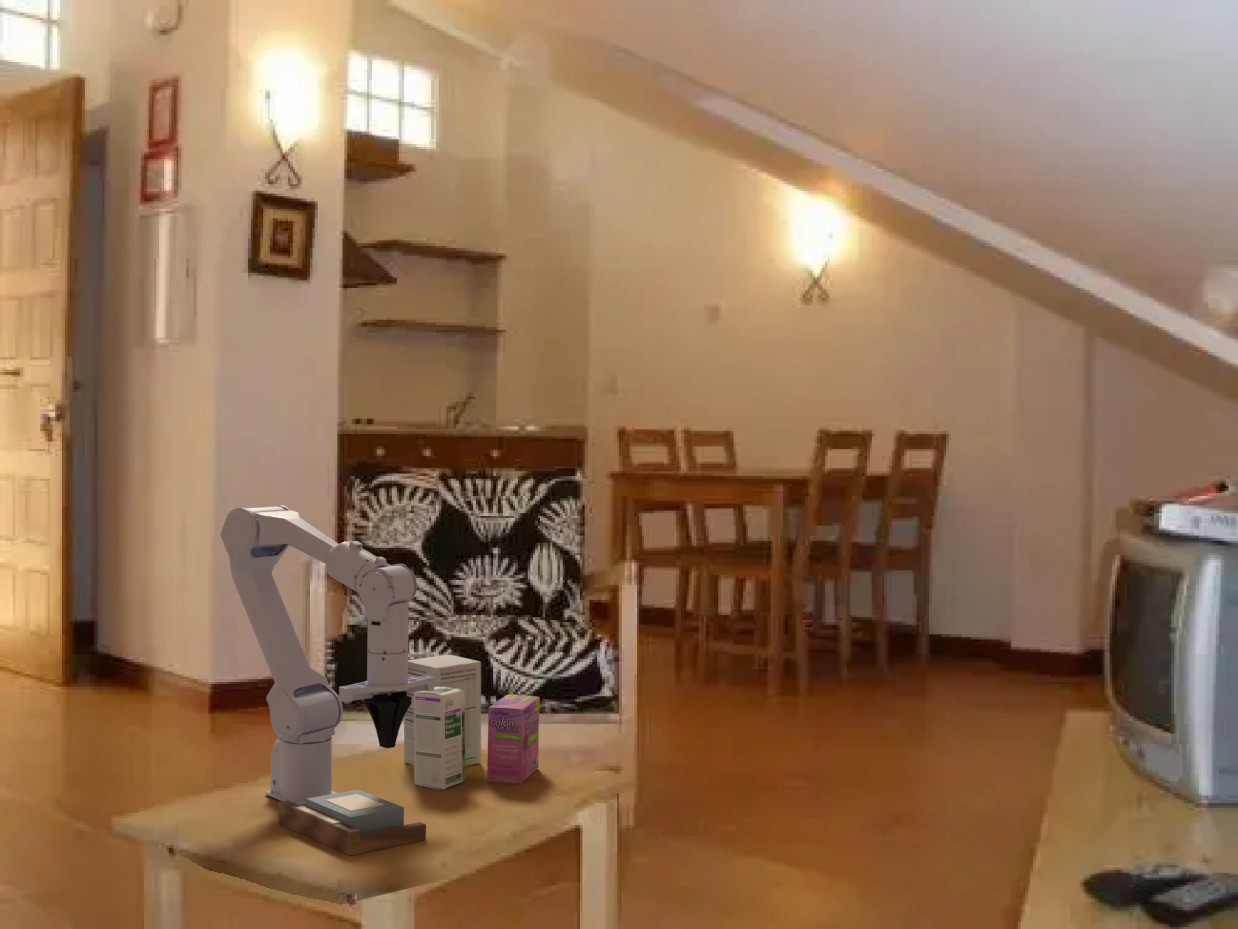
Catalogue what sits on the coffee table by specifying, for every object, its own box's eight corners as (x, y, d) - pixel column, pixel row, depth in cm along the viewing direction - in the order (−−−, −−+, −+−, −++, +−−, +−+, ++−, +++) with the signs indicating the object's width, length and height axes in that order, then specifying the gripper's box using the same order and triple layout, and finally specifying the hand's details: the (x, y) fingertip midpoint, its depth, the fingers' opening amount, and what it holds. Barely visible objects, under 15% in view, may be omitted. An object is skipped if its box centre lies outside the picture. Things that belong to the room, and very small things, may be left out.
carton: (305, 831, 194) (305, 798, 194) (357, 821, 199) (357, 788, 199) (350, 852, 185) (351, 816, 185) (403, 841, 190) (403, 806, 190)
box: (522, 785, 219) (522, 708, 219) (486, 782, 220) (487, 706, 220) (539, 769, 229) (540, 695, 229) (505, 767, 230) (505, 694, 230)
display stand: (278, 823, 196) (278, 800, 196) (351, 809, 204) (352, 787, 204) (350, 856, 182) (350, 831, 182) (425, 839, 190) (426, 815, 190)
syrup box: (443, 790, 215) (444, 694, 215) (412, 785, 218) (413, 690, 218) (465, 782, 220) (466, 688, 220) (434, 777, 223) (435, 685, 223)
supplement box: (449, 753, 239) (450, 653, 239) (482, 763, 233) (483, 660, 232) (401, 762, 233) (402, 659, 232) (434, 772, 226) (435, 667, 226)
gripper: (357, 660, 194) (357, 759, 194) (446, 649, 204) (445, 744, 204) (331, 653, 199) (331, 750, 200) (419, 643, 209) (418, 736, 209)
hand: (387, 746), depth 202 cm, fingers closed
